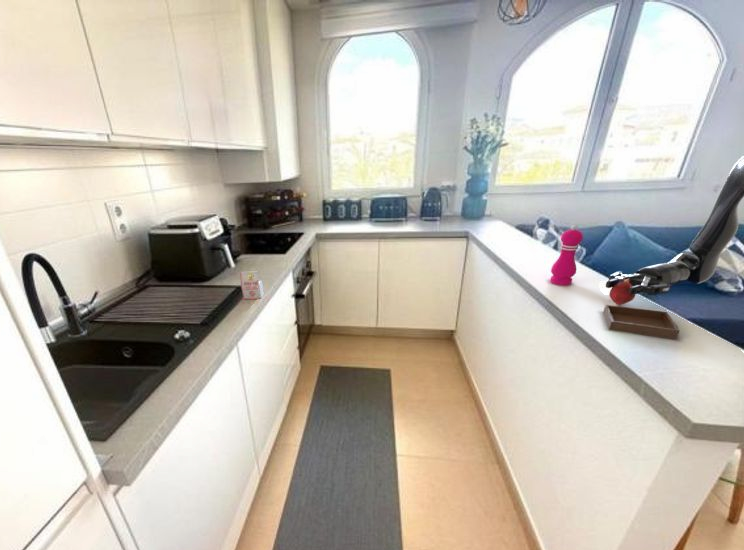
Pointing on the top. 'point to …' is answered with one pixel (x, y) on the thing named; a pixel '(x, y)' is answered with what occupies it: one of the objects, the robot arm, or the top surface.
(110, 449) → the top surface
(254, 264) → the top surface
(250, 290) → the pink carton box
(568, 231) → the pepper mill
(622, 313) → the serving tray
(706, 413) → the top surface
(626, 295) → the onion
